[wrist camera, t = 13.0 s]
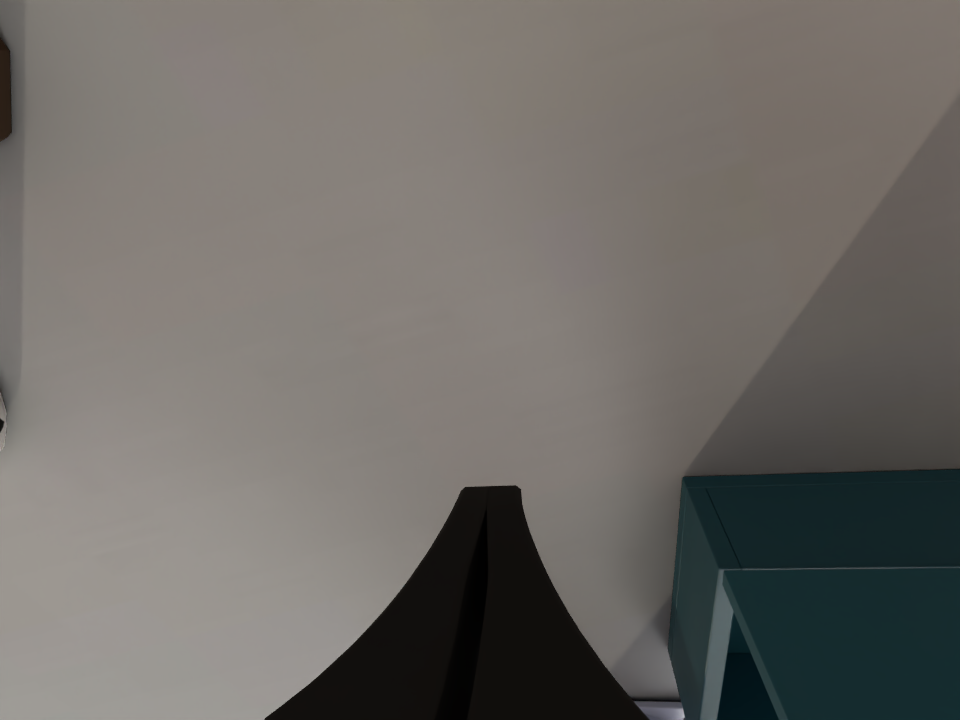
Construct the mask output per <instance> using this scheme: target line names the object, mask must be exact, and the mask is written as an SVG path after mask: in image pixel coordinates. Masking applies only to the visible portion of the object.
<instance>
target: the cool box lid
mask: <svg viewBox="0 0 960 720" xmlns="http://www.w3.org/2000/svg"><path fill="white" fill-rule="evenodd" d="M722 585H723V588H724V590H725V592H726V595H727V597H728V599H729V602H730V604H731V607H732V609H733V611H734V614H735V616H736V618H737V621H738V623H739V626H740V628H741V630H742V633H743V635H744V638H745V640H746V642H747V645H748V647H749V649H750V652H751V654H752V657H753V659H754V661H755V664H756V666H757V669H758V671H759V673H760V676H761V678H762V680H763V683H764V685H765V688H766V690H767V692H768V695H769V697H770V700H771V702H772V704H773V707H774V709H775V711H776V714H777V716H778V719H779V720H960V568H893V569H797V570H724V573H723V582H722Z"/></svg>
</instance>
